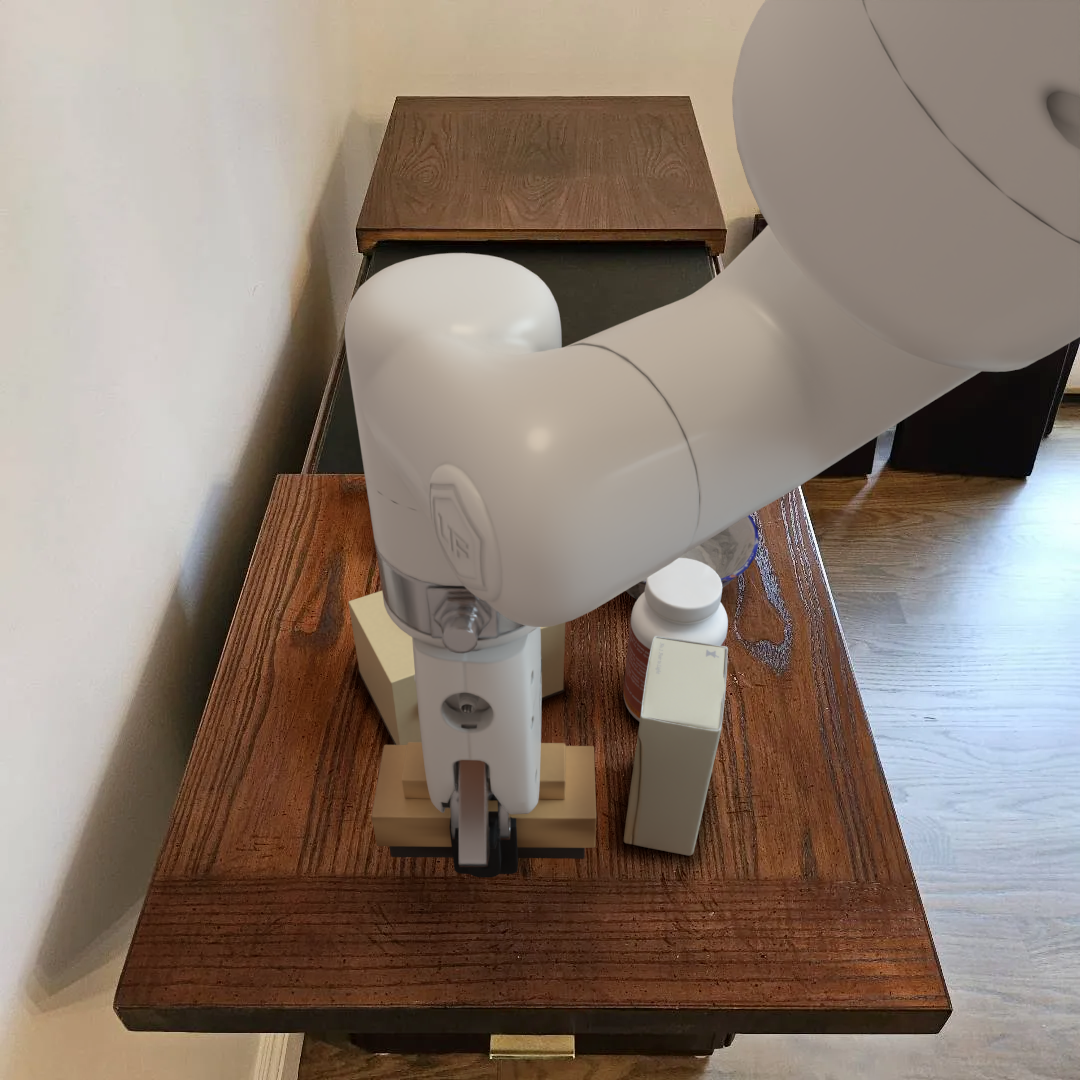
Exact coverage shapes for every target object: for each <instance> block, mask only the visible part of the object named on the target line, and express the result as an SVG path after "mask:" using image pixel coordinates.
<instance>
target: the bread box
mask: <svg viewBox="0 0 1080 1080" xmlns="http://www.w3.org/2000/svg"><path fill="white" fill-rule="evenodd" d="M348 609H349V615H350V621H351V622H350V623H351V627H352V634H353V640H354V646H355V652H356V658H357V663H358V670H357V671H358V675H359V677H360V678H361V680H362V682H363V685H364V686H365V688H366V690H367V692H368V695H369V696H370V698H371V700H372V702H373V705H374V706H375V708H376V711H377V712H378V714H379V717H380V718H381V720H382V722H383V725H384V727H385V728H386V730H387V732H388V735H389V736H390V739H391V741H392V743H393V745H407V743H408V742H421V732H420V723H419V713H418V702H417V691H416V683H415V680H414V675H415V668H414V655H413V642H412V637H411V636H409V635H408V634H407V633H405V632H404V631H402V630H401V629H400V628H399V627H398V626H397V625H396V624H395V623H394V622H393V621H392V619H391V618H390V616H389V615H388V613H387V611H386V608H385V605H384V600H383V593H382V590H379V591H375V592H373V593H370V594H367V595H364V596H361V597H358V598H354V599H352V600H349V601H348ZM540 629H541V678H542V701H546V700H548V699H550V698H553V697H556V696H558V695H561V694H563V693H565V688H564V678H565V677H564V676H565V674H564V673H565V646H566V644H565V643H566V622H565V623H562V624H558V625H555V626H549V627H540Z"/></svg>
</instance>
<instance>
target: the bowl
mask: <svg viewBox="0 0 1080 1080" xmlns="http://www.w3.org/2000/svg"><path fill="white" fill-rule="evenodd" d="M758 529H759V526H758V525H757V524H756V522H755V520H754V518H753V517H752V516H751V515H749V516H747V517H745V518H744V519H742V520H740V521H739V522H737V523H735V524H734V525H732V526H730V527H729V528H727V529H725V530H724V531H722V532H720V533H719V534H717V535H715V536H714V537H712V538H710V539H709V540H707V541H705V542H704V543H702V544H700V545H699V546H697V547H695V548H694V549H692V550H691V551H689V552H687V553H686V554H684V555H682V556H681V557H679V558H688V559H693V560H697V561H699V562H702V563H704V564H706V565H708V566H709V567H711V568H712V569H713V570H714V571H715V572H716V573H717V574H718V576H719V577H720V579H721V582H722V589H724V588H725V587H726V586H729V584H730V583H731V582H732V581H733V580H735V579H736V578H738V577H739V576H741V575H742V574H743V573H744V572H746V571H747V570H748V569H749V567H750V566H751V565H752V563H753V562H754V560H755V559H756V556H757V553H758V551H759V550H758V549H759V543H760V542H759V541H760V539H759V538H760V536H759V530H758ZM646 580H647V578H646V579H644V580H642V581H641V582H639V583H637V584H636V585H634V586H632V587H631V588H629V589H627V590H626V591H625V592H626V593H627V594H628V595H629V596H631V597H632V598H633V599H635V600H636V601H637V599H638V598H639V597H640V596H641V594H643V593H644V592H645V586H646Z"/></svg>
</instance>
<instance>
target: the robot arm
mask: <svg viewBox="0 0 1080 1080" xmlns="http://www.w3.org/2000/svg"><path fill="white" fill-rule="evenodd" d="M732 85H733V86H732V97H731V98H732V99H731V100H732V101H731V102H732V119H733V120H732V121H733V127H734V135H735V143H736V150H737V152H738V153H737V154H738V156H739V159H740V162H741V165H742V169H743V172H744V175H745V179H746V181H747V185H748V187H749V189H750V190H751V194H752V195H753V196H752V197H753V198H754V200H755V202H756V204H757V207H758V209H759V211H760V213H761V215H762V216H763V218H764V220H765V222H766V223H767V225H766V226H765V227H764V229H763V230H762V231H761V232H760V233H759V234H758V235H757V236H756V237H755V238H754V239H753V240H752V241H751V242H749V244H748V245H747V246H746V247H745V248H744V249H743V250H742V251H741V252H740V253H739V254H738V255H737V256H736V257H735V258H734V259H733V260H732V261H731V262H730V263H729V264H728V265H727V266H726V267H725V268H724V269H723V270H722V271H720V272H719V273H718V274H717V275H716V276H714V277H713V278H712V279H711V280H710V281H708V282H707V283H706V284H704V285H703V286H702V287H701V288H699V289H698V290H696V291H695V292H693V293H691V294H690V295H687V296H685V297H684V298H681V299H678V300H676V301H674V302H671V303H669V304H666V305H664V306H661V307H658V308H655V309H653V310H650V311H648V312H645V313H643V314H640V315H638V316H636V317H633V318H631V319H628V320H626V321H623V322H621V323H618V324H616V325H613V326H611V327H609V328H607V329H604V330H602V331H598V332H597V333H595V334H592V335H589V336H588V337H585V338H583V339H580V340H578V341H575V342H573V343H570V344H568V345H566V346H562V345H563V343H562V342H563V341H562V340H563V338H562V322H561V317H560V316H561V315H560V311H559V307H558V303H557V301H556V299H555V297H554V295H553V293H552V291H551V289H550V288H549V286H548V285H547V284H546V282H545V281H544V280H542V278H540V276H538V275H537V274H536V273H534V272H532V271H531V270H530V269H528V268H527V267H524V266H523V265H522V264H520V263H517V262H515V261H512V260H509V259H505V258H503V257H500V256H499V257H498V256H494V255H489V254H480V253H470V252H467V253H466V252H448V253H447V252H446V253H435V254H429V255H422V256H418V257H414V258H409V259H405V260H402V261H399V262H395V263H394V264H392V265H389V266H387V267H385V268H383V269H381V270H380V271H378V272H376V273H374V274H373V275H372V276H370V277H369V279H367V280H366V281H365V282H364V283H363V284H361V285H360V286H359V287H358V289H357V291H356V292H355V294H354V296H353V297H352V299H351V300H350V302H349V305H348V308H347V311H346V317H345V321H344V341H345V342H344V343H345V351H346V359H347V366H348V373H349V379H350V386H351V393H352V398H353V406H354V413H355V419H356V426H357V430H358V431H357V432H358V433H357V434H358V440H359V447H360V453H361V459H362V465H363V472H364V479H365V486H366V487H365V488H366V492H367V499H368V506H369V513H370V520H371V526H372V533H373V540H374V547H375V554H376V560H377V566H378V573H379V580H380V587H381V591H382V593H383V600H384V605H385V608H386V611H387V613H388V615H389V616H390V618H391V619H392V621H393V622H394V623H395V624H396V625H397V626H398V627H399V628H400V629H401V630H402V631H404V632H405V633H407V634H408V635H409V636H411V637H412V642H413V655H414V668H415V675H414V680H415V683H416V691H417V702H418V713H419V723H420V732H421V742H422V750H423V758H424V766H425V773H426V780H427V786H428V791H429V795H430V799H431V801H432V803H433V805H434V806H435V807H436V808H437V809H438V810H439V811H440V812H442V813H444V811H445V808H450V813H451V818H450V826H449V828H450V836H451V845H452V854H453V858H452V861H453V870H454V872H455V873H457V874H458V875H459V874H460V875H470V876H472V877H475V878H480V879H481V878H482V879H484V878H486V879H487V878H495V877H497V876H499V875H515V874H516V873H517V872H518V871H519V858H518V848H517V825H516V818H512V817H510V814H529V813H530V812H531V811H532V810H533V809H534V808H535V806H536V805H537V803H538V799H539V787H540V757H541V743H542V704H543V703H542V678H541V629H540V627H549V626H555V625H558V624H562V623H565V624H566V623H568V622H572V621H573V620H576V619H578V618H580V617H582V616H585V615H587V614H589V613H591V612H593V611H594V610H596V609H598V608H599V607H601V606H602V605H604V604H606V603H607V602H609V601H612V600H613V599H615V598H616V597H617V596H619V595H621V594H623V593H624V592H626V590H627V589H629V588H631V587H632V586H634V585H636V584H637V583H639V582H641V581H642V580H644V579H646V578H647V577H649V576H651V575H652V574H654V573H656V572H658V571H659V570H661V569H663V568H664V567H666V566H668V565H669V564H671V563H672V562H674V561H675V560H676V559H678V558H679V557H681V556H682V555H684V554H686V553H687V552H689V551H691V550H692V549H694V548H695V547H697V546H699V545H700V544H702V543H704V542H705V541H707V540H709V539H710V538H712V537H714V536H715V535H717V534H719V533H720V532H722V531H724V530H725V529H727V528H729V527H730V526H732V525H734V524H735V523H737V522H739V521H740V520H742V519H744V518H745V517H747V516H749V515H750V516H751V515H752V514H754V513H756V512H758V511H760V510H762V509H763V508H765V507H766V506H767V507H768V506H769V505H770V504H771V503H773V502H776V501H777V500H779V499H781V498H782V497H784V496H787V494H790V493H791V492H792V491H794V490H795V489H797V488H799V487H800V486H802V485H804V484H805V483H807V482H808V481H810V480H811V479H813V478H815V477H816V476H818V475H819V474H821V473H822V472H824V471H825V470H827V469H828V468H830V467H831V466H833V465H835V464H836V463H838V462H839V461H841V460H842V459H844V458H845V457H847V456H848V455H850V454H852V453H853V452H855V451H856V450H858V449H860V448H861V447H863V446H864V445H866V444H867V443H869V442H870V441H872V440H874V439H875V438H877V437H879V436H880V435H882V434H884V433H885V432H886V431H888V430H890V429H891V428H893V427H894V426H896V425H897V424H899V423H900V422H902V421H903V420H905V419H907V418H908V417H910V416H912V415H913V414H916V413H917V412H918V411H920V410H921V409H923V408H924V407H926V406H928V405H930V404H931V403H932V402H934V401H935V400H938V399H939V398H941V397H942V396H944V395H945V394H947V393H949V392H951V391H952V390H953V389H955V388H956V387H959V386H960V385H961V384H963V383H964V382H967V381H968V380H970V379H971V378H973V377H975V376H976V375H978V374H979V373H981V372H989V373H990V372H992V373H999V372H1002V373H1003V372H1011V371H1015V370H1016V371H1017V370H1022V369H1023V368H1027V367H1029V366H1030V365H1032V364H1034V363H1036V362H1037V361H1039V360H1041V359H1044V358H1045V357H1047V356H1049V355H1052V354H1053V353H1055V352H1056V351H1059V350H1060V349H1062V348H1063V347H1065V346H1067V345H1068V344H1071V343H1072V342H1074V341H1075V340H1077V339H1079V338H1080V0H765V1H764V2H763V3H762V4H761V6H760V8H759V9H758V10H757V12H756V14H755V16H754V18H753V19H752V22H751V24H750V26H749V28H748V30H747V32H746V34H745V36H744V39H743V41H742V45H741V48H740V52H739V56H738V61H737V65H736V69H735V73H734V78H733V82H732ZM488 801H498V811H488Z"/></svg>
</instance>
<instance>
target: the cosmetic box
mask: <svg viewBox="0 0 1080 1080" xmlns="http://www.w3.org/2000/svg"><path fill="white" fill-rule="evenodd" d="M728 654H729V647H728V646H726V645H725V646H718V645H713V644H706V643H701V642H694V641H687V640H682V639H674V638H667V637H660V636H655V637H654V638H653V641H652V646H651V650H650V655H649V660H648V666H647V672H646V678H645V685H644V692H643V700H642V707H641V715H640V722H639V725H638V732H637V739H636V740H637V741H636V745H635V753H634V759H633V760H634V761H633V766H632V767H633V769H632V775H631V783H630V790H629V797H628V803H627V804H628V805H627V810H626V820H625V828H624V836H623V842H624V843H625V844H628V845H634V846H637V847H643V848H648V849H653V850H658V851H662V852H663V851H664V852H668V853H672V854H673V853H674V854H677V855H683V856H692V855H693V854H694V852H695V848H696V843H697V839H698V836H699V830H700V827H701V826H700V825H701V823H702V822H701V821H702V818H703V817H702V816H703V812H704V808H705V803H706V799H707V794H708V791H709V786H710V781H711V777H712V773H713V768H714V763H715V760H716V755H717V751H718V746H719V742H720V738H721V733H722V728H723V719H724V709H725V701H726V692H727V691H726V690H727V689H726V688H727V677H728V656H729V655H728Z"/></svg>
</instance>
